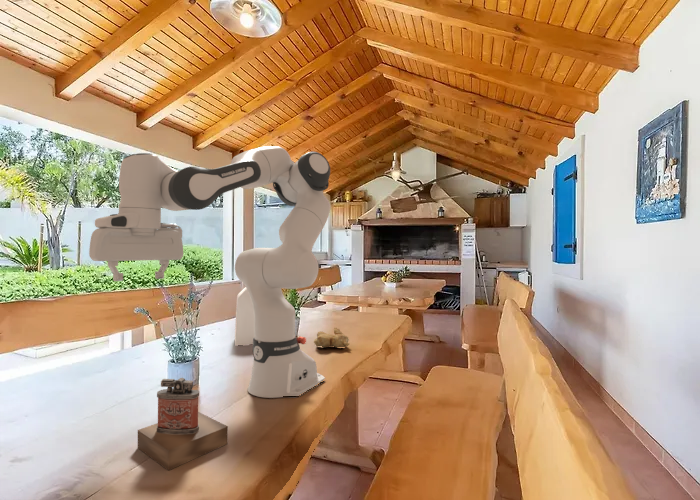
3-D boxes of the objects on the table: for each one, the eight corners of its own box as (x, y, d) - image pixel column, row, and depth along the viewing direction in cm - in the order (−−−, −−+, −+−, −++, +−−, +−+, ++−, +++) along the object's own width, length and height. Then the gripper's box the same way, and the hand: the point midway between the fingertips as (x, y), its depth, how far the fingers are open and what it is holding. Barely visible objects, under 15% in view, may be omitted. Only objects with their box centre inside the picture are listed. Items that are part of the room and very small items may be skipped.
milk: (234, 338, 165) (235, 277, 165) (262, 337, 169) (263, 277, 169) (235, 345, 154) (235, 279, 154) (265, 344, 157) (265, 279, 157)
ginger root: (345, 351, 143) (341, 329, 144) (307, 357, 148) (303, 336, 149) (358, 342, 158) (354, 323, 159) (322, 348, 163) (318, 329, 164)
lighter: (201, 426, 78) (202, 376, 77) (194, 435, 74) (194, 382, 74) (162, 425, 78) (162, 375, 78) (152, 433, 75) (153, 381, 74)
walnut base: (195, 426, 85) (195, 410, 85) (227, 443, 78) (227, 426, 78) (137, 447, 76) (137, 430, 76) (168, 470, 69) (168, 450, 69)
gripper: (175, 224, 103) (175, 276, 103) (86, 219, 87) (86, 281, 87) (188, 223, 99) (187, 278, 99) (97, 218, 83) (97, 283, 83)
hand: (139, 279), depth 93 cm, fingers open, 8 cm apart
